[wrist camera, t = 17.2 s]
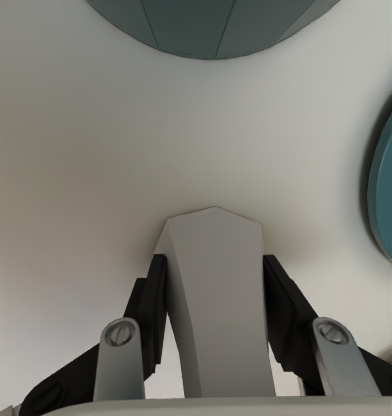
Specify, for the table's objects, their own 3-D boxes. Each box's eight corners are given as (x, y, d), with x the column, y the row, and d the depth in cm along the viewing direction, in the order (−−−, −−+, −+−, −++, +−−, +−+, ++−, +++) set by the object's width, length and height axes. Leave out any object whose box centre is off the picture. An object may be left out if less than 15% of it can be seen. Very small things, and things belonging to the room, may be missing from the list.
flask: (152, 201, 12) (14, 457, 3) (276, 208, 12) (556, 456, 3) (151, 301, 14) (81, 621, 5) (255, 305, 15) (371, 609, 5)
